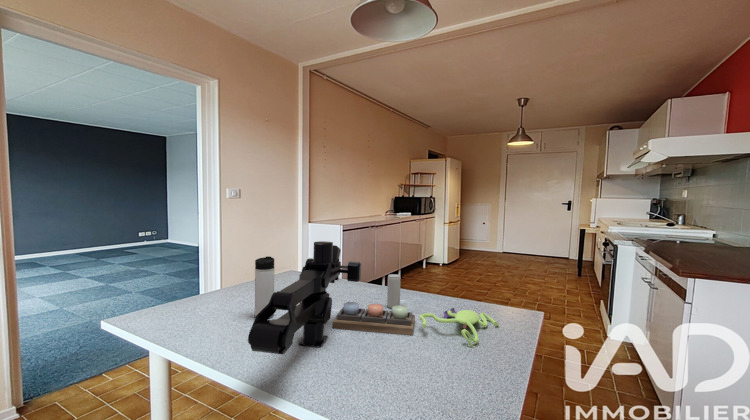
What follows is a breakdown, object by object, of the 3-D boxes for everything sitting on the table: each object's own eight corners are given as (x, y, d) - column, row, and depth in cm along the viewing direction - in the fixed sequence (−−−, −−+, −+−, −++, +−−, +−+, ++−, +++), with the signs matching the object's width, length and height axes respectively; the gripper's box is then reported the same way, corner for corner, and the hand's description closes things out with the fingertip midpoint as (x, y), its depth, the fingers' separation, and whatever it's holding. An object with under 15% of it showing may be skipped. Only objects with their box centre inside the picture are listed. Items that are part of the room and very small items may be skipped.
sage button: (407, 319, 101) (407, 311, 101) (391, 317, 102) (391, 310, 102) (408, 313, 106) (408, 306, 106) (392, 312, 107) (393, 304, 107)
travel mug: (277, 313, 114) (277, 256, 113) (269, 320, 107) (269, 260, 107) (260, 312, 115) (260, 256, 114) (251, 319, 108) (251, 259, 107)
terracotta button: (381, 317, 103) (381, 309, 103) (366, 315, 103) (366, 308, 103) (383, 311, 108) (384, 304, 107) (369, 310, 108) (369, 303, 108)
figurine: (411, 334, 99) (411, 316, 99) (451, 311, 120) (451, 296, 120) (469, 353, 88) (469, 333, 87) (502, 324, 108) (503, 308, 108)
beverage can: (399, 309, 120) (399, 277, 119) (386, 308, 121) (386, 276, 120) (400, 305, 125) (401, 274, 124) (388, 304, 126) (388, 273, 125)
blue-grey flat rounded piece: (356, 315, 104) (357, 307, 104) (341, 313, 105) (341, 306, 105) (360, 309, 109) (360, 302, 109) (345, 308, 110) (345, 301, 110)
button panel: (412, 335, 98) (413, 324, 98) (332, 328, 102) (332, 317, 102) (414, 320, 109) (414, 310, 109) (342, 314, 114) (342, 305, 114)
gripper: (356, 250, 100) (366, 245, 115) (298, 246, 103) (316, 241, 118) (354, 286, 100) (365, 276, 115) (297, 281, 103) (315, 272, 118)
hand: (340, 265), depth 117 cm, fingers open, 9 cm apart
